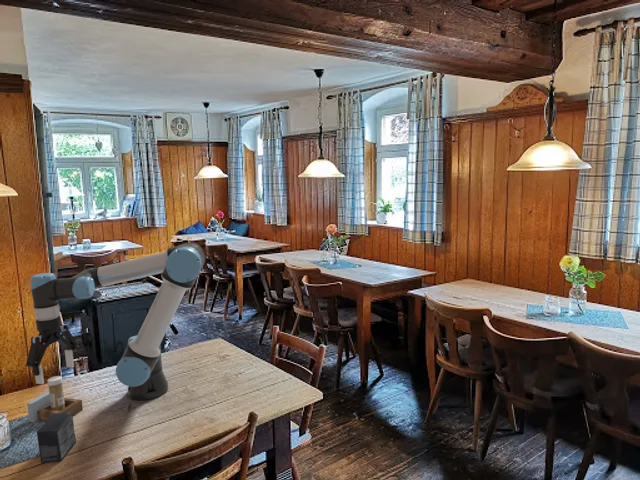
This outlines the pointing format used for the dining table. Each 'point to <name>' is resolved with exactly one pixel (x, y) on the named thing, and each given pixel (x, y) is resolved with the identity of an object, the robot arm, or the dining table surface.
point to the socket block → (70, 407)
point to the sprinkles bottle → (56, 393)
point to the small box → (56, 437)
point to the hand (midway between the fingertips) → (56, 374)
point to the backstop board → (37, 406)
